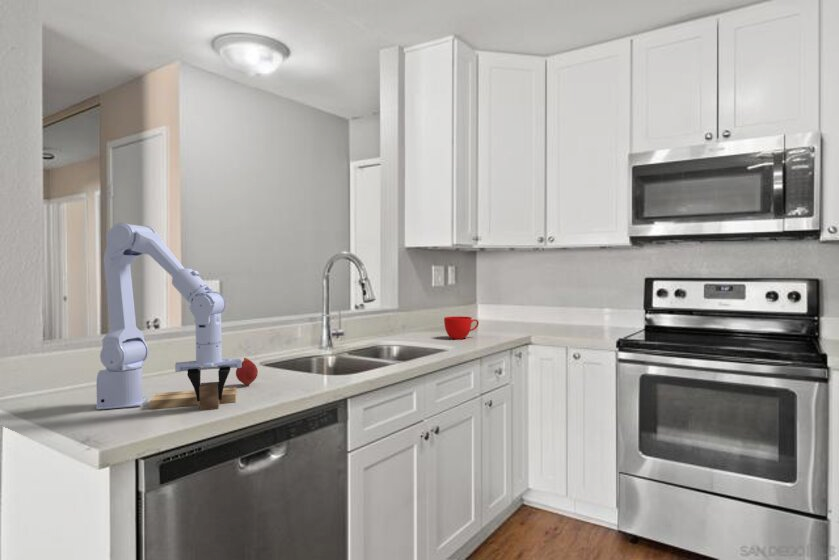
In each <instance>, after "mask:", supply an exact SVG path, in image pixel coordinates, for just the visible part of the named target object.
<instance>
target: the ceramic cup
mask: <svg viewBox="0 0 839 560" xmlns="http://www.w3.org/2000/svg"><path fill="white" fill-rule="evenodd" d="M443 321H444V328H445V332H446V333H447V335H448V336H449V338H450V339H451V338H452V339H451V340H456V339H460V340H464V339H463V338H465V339H466V338H467V336H468V335H469V334H470V332H471V331H474V330H476V329H477V328H478V326H479V320H478V319H472V317H471V316H444V318H443ZM473 322H476V325H475V326H474V327H473V328H472V323H473Z"/></svg>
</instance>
